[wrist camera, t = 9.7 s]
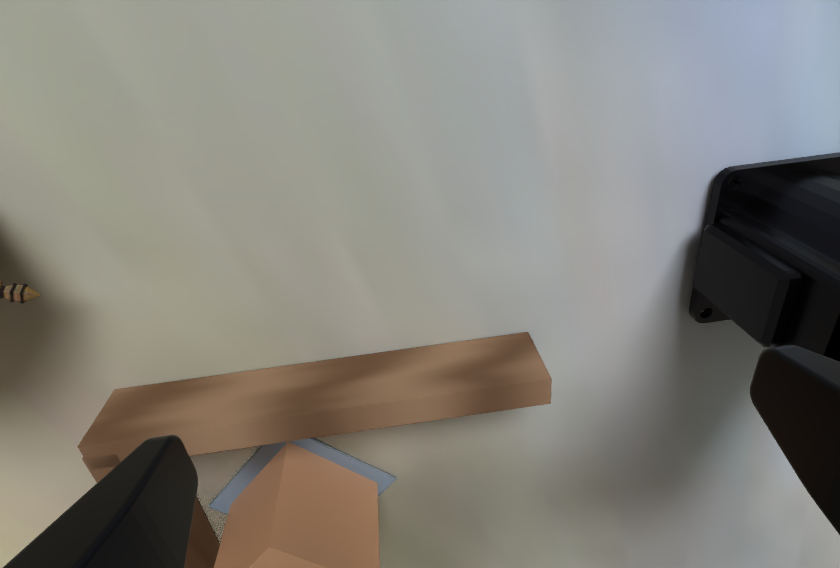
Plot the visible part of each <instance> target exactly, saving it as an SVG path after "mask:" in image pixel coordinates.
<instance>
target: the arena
mask: <svg viewBox="0 0 840 568" xmlns="http://www.w3.org/2000/svg"><path fill="white" fill-rule="evenodd" d="M551 381H552V379H551V377H550V375H549V373H548V371H547V369H546V367H545V365H544V363H543V361H542V359H541V357H540V355H539V353H538V351H537V349H536V347H535V345H534V343H533V341H532V339H531V337H530V335H529V333H528V332H524V333H517V334H510V335H502V336H495V337H488V338H481V339H474V340H467V341H459V342H452V343H445V344H438V345H431V346H424V347H416V348H409V349H402V350H395V351H388V352H381V353H373V354H366V355H359V356H352V357H345V358H338V359H330V360H323V361H316V362H309V363H302V364H295V365H287V366H280V367H273V368H266V369H259V370H252V371H244V372H237V373H230V374H223V375H216V376H209V377H201V378H194V379H187V380H180V381H173V382H166V383H158V384H151V385H144V386H137V387H130V388H123V389H115V390H114V391H113V393H112V394H111V396H110V397H109V399H108V401H107V402H106V404H105V405H104V407H103V408H102V410H101V411H100V413H99V414H98V416H97V417H96V419H95V421H94V422H93V424H92V425H91V427H90V428H89V430H88V431H87V433H86V434H85V436H84V438H83V439H82V441H81V442H80V444H79V445H78V448H79V450H80V451H81V453H82V455H83V456H84V457H83V458H82V460H83V461H84V463H85V464H86V466H87V468H88V469H89V471H90V472H91V474H92V476H93V477H94V479H95V480H96V482H97V483H98V482H99V481H100V480H101V479H102V478H104V477H105V476H106V475H107V474H108V473H109V472H110V471H111V470H112V469H114V468H115V467H116V466H117V465H118V464H119V463H120V462H121V461H123V460H124V459H125V458H126V457H127V456H128V455H129V454H130V453H131V452H133V451H134V450H135V449H136V448H137V447H138V446H139V445H140V444H142V443H143V442H144V441H145V440H147V439H149V438H152V437H159V436H166V435H177V436H178V437H179V438H180V439H181V440H182V442H183V444H184V446H185V448H186V450H187V452H188V454H189V456H191V455H198V454H205V453H212V452H219V451H226V450H233V449H240V448H247V447H253V446H260V445H262V446H261V447H260V448H259V449H258V450H257V452H256V453H255V454H254V455H253V456H252V457H251V458H250V460H249V461H248V462H247V463H246V464H245V465H244V466H243V467H242V469H241V470H240V471H239V472H238V473H237V474H236V475H235V477H234V478H233V479H232V480H231V481H230V482H229V483H228V485H227V486H226V487H225V488H224V489H223V490H222V491H221V493H220V494H219V495H218V496H217V497H216V498H215V499H214V500H213V502H212V503H211V504H210V505H209V508H212V509H214V510H217V511H220V512H222V513H225V514H228V513H229V509H230V505H231V503H232V502H233V501H234V500H235V499H236V498H237V497H238V496H239V495H240V494H241V492H242V491H243V490H244V489H245V488H246V487H247V486H248V485H249V484H250V483H251V481H252V480H253V479H254V478H255V477H256V476H257V475H258V474H259V473H260V472H261V470H262V469H263V468H264V467H265V466H266V465H267V464H268V463H269V462H270V461H271V460H272V458H273V457H274V456H275V455H276V454H277V453H278V452H279V451H280V450H281V449H282V447H283V446H284V445H285V444H286V443H287V442H290V443H292V444H295V445H297V446H299V447H301V448H303V449H305V450H308V451H310V452H312V453H314V454H316V455H318V456H321V457H323V458H325V459H327V460H329V461H331V462H333V463H336V464H338V465H340V466H342V467H344V468H346V469H349V470H351V471H353V472H355V473H357V474H359V475H362V476H364V477H366V478H368V479H370V480H372V481H375V482H377V486H378V496H379V495H380V494H381V493H382V492H383V491H384V490H385V489H387V488H388V487H389V486H390V485H391V484H392V483H393V482H394V481H395V480H396V477H394V476H391V475H389V474H387V473H385V472H383V471H381V470H379V469H377V468H374V467H372V466H370V465H368V464H366V463H364V462H362V461H360V460H358V459H355V458H353V457H351V456H349V455H347V454H345V453H343V452H341V451H338V450H336V449H334V448H332V447H330V446H328V445H326V444H324V443H321V442H319V441H317V440H315V439H313V438H316V437H322V436H329V435H336V434H343V433H350V432H357V431H364V430H371V429H378V428H385V427H391V426H398V425H405V424H412V423H419V422H426V421H433V420H440V419H447V418H454V417H460V416H467V415H474V414H481V413H488V412H495V411H502V410H509V409H516V408H523V407H529V406H536V405H543V404H550V403H551ZM219 546H220V544H219V542H218V540H217V538H216V536H215V534H214V532H213V530H212V528H211V526H210V523H209V521H208V519H207V517H206V515H205V513H204V511H203V509H202V507H201V505H200V503H199V501H198V499H197V497H196V500H195V506H194V512H193V518H192V525H191V531H190V537H189V543H188V550H187V556H186V562H185V568H214V565H215V561H216V558H217V554H218V550H219Z"/></svg>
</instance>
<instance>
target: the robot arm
mask: <svg viewBox="0 0 840 568" xmlns="http://www.w3.org/2000/svg"><path fill="white" fill-rule="evenodd" d="M734 177H735V180H734V182H733V183H732V184H731V185H730V186H728V183H729V181H730V180H731V179H732V178H734ZM693 286H694V287H693V292H692V297H691V302H690V307H689V314H690V315H691V317H692V318H694V319H695V320H696V321H697V322H699V323H708V322H715V321H722V320H730V319H731V320H733V321H734V322H735V323H736V324H737V325H738V326H740V327H741V328H742V329H743V330H744V331H745V332H747V333H748V334H749V335H750V336H751V337H752V338H754V339H755V340H756V341H757V342H758V343H759V344H761V345H762V346H764V347H770V348H767V349H764V350H763V351H762V352H761V354H760V356H759V359H758V362H757V366H756V369H755V372H754V376H753V379H752V383H751V386H750V395H751V399H752V402H753V404H754V406H755V408H756V409H757V411H758V412H759V414H760V416H761V417H762V419H763V421H764V422H765V424H766V425H767V427H768V429H769V430H770V432H771V434H772V435H773V437H774V438H775V440H776V442H777V443H778V445H779V447H780V448H781V450H782V451H783V453H784V455H785V456H786V458H787V460H788V461H789V463H790V464H791V466H792V468H793V469H794V471H795V473H796V474H797V476H798V477H799V479H800V480H801V482H802V484H803V485H804V487H805V488H806V490H807V491H808V493H809V494H810V495H811V497H812V498H813V500H814V501H815V502H816V504H817V505H818V507H819V508H820V509H821V511H822V512H823V513H824V515H825V516H826V517H827V519H828V520H829V521H830V523H831V524H832V525H833V527H834V528H835V529H836V531H837V532H838V533H839V535H840V153H832V154H824V155H816V156H809V157H801V158H793V159H786V160H778V161H770V162H762V163H755V164H747V165H739V166H732V167H728V168H725V169H724V170H722V171H721V172H720V173H719V174H718V175H717V177H716V179H715V182H714V187H713V192H712V197H711V202H710V207H709V212H708V217H707V222H706V227H705V230H704V231H703V236H702V241H701V246H700V251H699V256H698V261H697V266H696V271H695V276H694V281H693ZM705 308H706V309H705ZM703 309H705V310H704V311H703V312H701V311H702V310H703ZM197 487H198V478H197V472H196V469H195V467H194V465H193V463H192V461H191V459H190V457H189V454H188V452H187V450H186V448H185V446H184V444H183V442H182V440H181V439H180V438H179V437H178V436H177V435H166V436H159V437H152V438H149V439H147V440H145V441H144V442H143V443H142V444H140V445H139V446H138V447H137V448H136V449H135V450H134V451H133V452H131V453H130V454H129V455H128V456H127V457H126V458H125V459H124V460H123V461H121V462H120V463H119V464H118V465H117V466H116V467H115V468H114V469H112V470H111V471H110V472H109V473H108V474H107V475H106V476H105V477H104V478H102V479H101V480H100V481H99V482H98V483H97V484H96V485H95V486H93V487H92V488H91V489H90V490H89V491H88V492H87V493H86V494H85V495H83V496H82V497H81V498H80V499H79V500H78V501H77V502H76V503H74V504H73V505H72V506H71V507H70V508H69V509H68V510H67V511H66V512H64V513H63V514H62V515H61V516H60V517H59V518H58V519H57V520H55V521H54V522H53V523H52V524H51V525H50V526H49V527H48V528H47V529H45V530H44V531H43V532H42V533H41V534H40V535H39V536H38V537H36V538H35V539H34V540H33V541H32V542H31V543H30V544H29V545H27V546H26V547H25V548H24V549H23V550H22V551H21V552H20V553H19V554H17V555H16V556H15V557H14V558H13V559H12V560H11V561H10V562H8V563H7V564H6V565H5V566H4V567H3V568H185V562H186V556H187V550H188V543H189V537H190V531H191V525H192V518H193V512H194V506H195V500H196V493H197Z"/></svg>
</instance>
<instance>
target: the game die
mask: <svg viewBox="0 0 840 568" xmlns="http://www.w3.org/2000/svg"><path fill="white" fill-rule="evenodd" d="M37 296H40V294H39V293H37V292H36V291H34V290H32V289H31V288H29V287H28V286H27V284H23V285H17V284H16V283H14V284H13V285H10V286H3V284H2V282H1V280H0V299H1V298H6V299H9V300H10V302H14V301H20V303H24V302H25V301H27V300H29V299H32V298H35V297H37Z"/></svg>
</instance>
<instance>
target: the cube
mask: <svg viewBox="0 0 840 568" xmlns="http://www.w3.org/2000/svg"><path fill="white" fill-rule="evenodd" d="M214 568H380V559H379V523H378V486H377V482H375V481H372V480H370V479H368V478H366V477H364V476H362V475H359V474H357V473H355V472H353V471H351V470H349V469H346V468H344V467H342V466H340V465H338V464H336V463H333V462H331V461H329V460H327V459H325V458H323V457H321V456H318V455H316V454H314V453H312V452H310V451H308V450H305V449H303V448H301V447H299V446H297V445H295V444H292V443H290V442H287V443H286V444H285V445H284V446H283V447H282V449H281V450H280V451H279V452H278V453H277V454H276V455H275V456H274V457H273V458H272V460H271V461H270V462H269V463H268V464H267V465H266V466H265V467H264V468H263V469H262V470H261V472H260V473H259V474H258V475H257V476H256V477H255V478H254V479H253V480H252V481H251V483H250V484H249V485H248V486H247V487H246V488H245V489H244V490H243V491H242V492H241V494H240V495H239V496H238V497H237V498H236V499H235V500H234V501H233V502H232V503H231V505H230V509H229V513H228V516H227V520H226V524H225V528H224V531H223V535H222V539H221V543H220V546H219V550H218V554H217V558H216V561H215V565H214Z"/></svg>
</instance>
